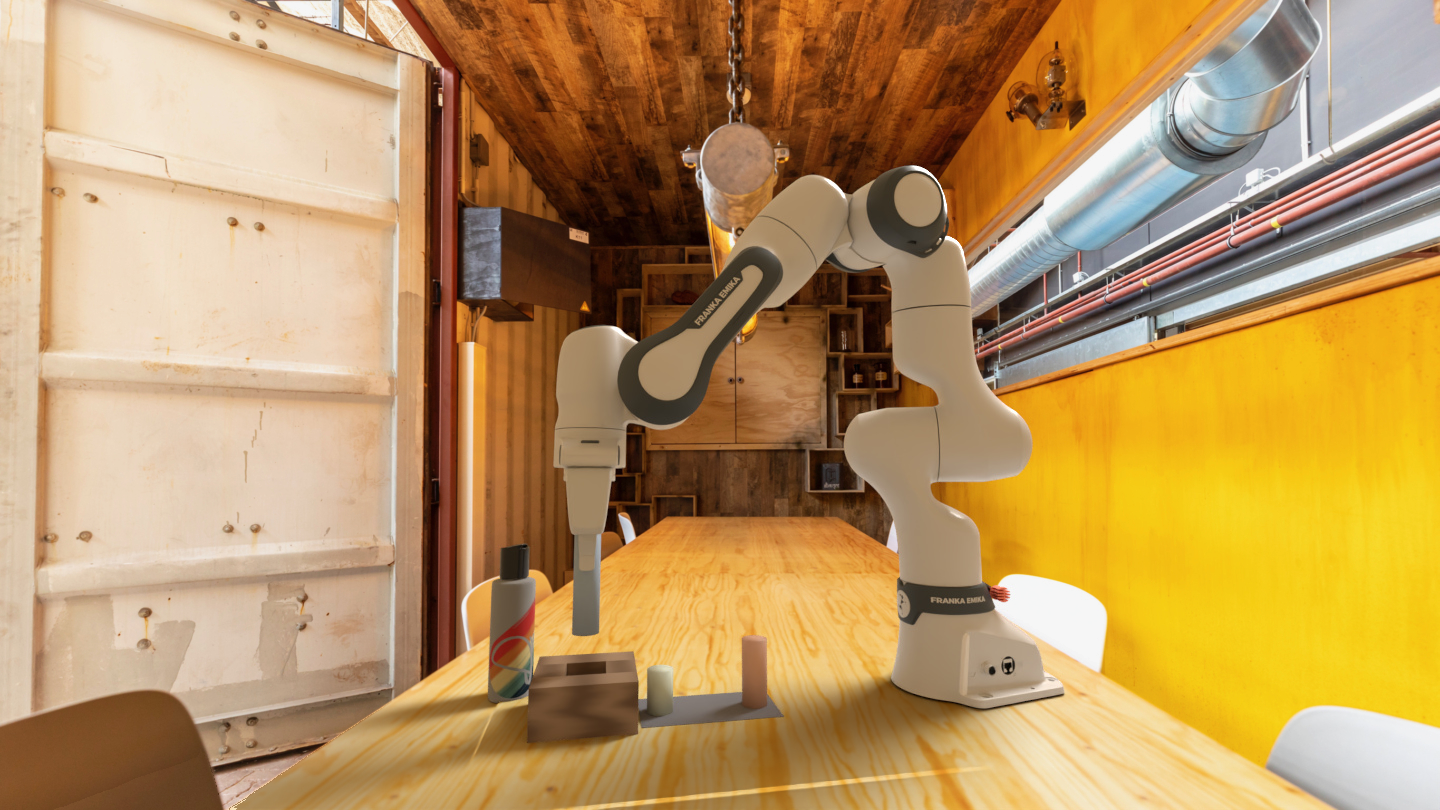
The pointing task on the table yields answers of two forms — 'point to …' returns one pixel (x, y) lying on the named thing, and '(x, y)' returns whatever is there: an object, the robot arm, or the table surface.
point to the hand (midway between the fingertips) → (587, 567)
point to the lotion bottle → (512, 627)
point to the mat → (707, 710)
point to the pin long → (586, 594)
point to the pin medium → (754, 671)
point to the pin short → (660, 690)
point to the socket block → (583, 697)
